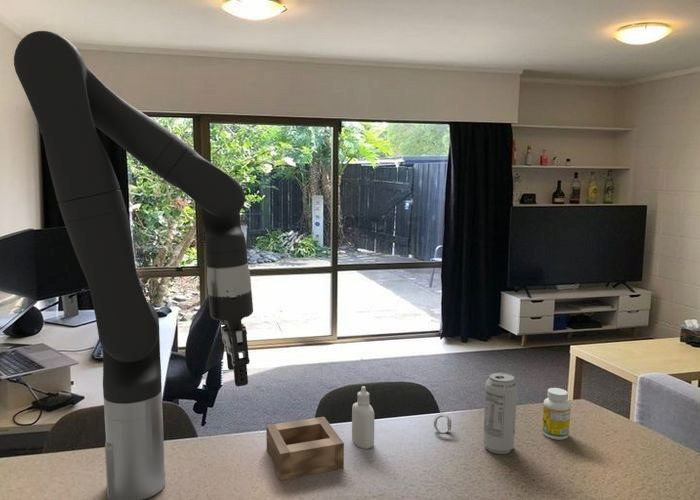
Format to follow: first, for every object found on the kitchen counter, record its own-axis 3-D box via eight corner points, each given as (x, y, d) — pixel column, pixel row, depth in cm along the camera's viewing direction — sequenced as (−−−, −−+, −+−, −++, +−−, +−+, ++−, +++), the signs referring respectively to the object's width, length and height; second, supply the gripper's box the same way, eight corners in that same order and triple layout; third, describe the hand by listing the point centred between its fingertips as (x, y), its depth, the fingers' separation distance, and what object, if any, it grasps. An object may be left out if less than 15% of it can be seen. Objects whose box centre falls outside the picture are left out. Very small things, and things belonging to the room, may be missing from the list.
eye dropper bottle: (372, 436, 116) (373, 381, 115) (374, 449, 111) (375, 392, 109) (351, 436, 116) (352, 381, 115) (352, 449, 111) (353, 392, 109)
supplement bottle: (568, 442, 115) (571, 397, 113) (541, 437, 116) (544, 394, 115) (568, 431, 120) (571, 388, 118) (542, 427, 121) (544, 385, 120)
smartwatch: (433, 433, 118) (434, 415, 117) (432, 429, 120) (433, 411, 119) (450, 434, 118) (451, 416, 117) (449, 430, 120) (450, 412, 119)
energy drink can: (520, 452, 110) (524, 379, 108) (494, 457, 108) (498, 383, 106) (501, 438, 116) (504, 369, 114) (476, 443, 114) (479, 373, 112)
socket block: (280, 480, 99) (280, 453, 99) (266, 449, 111) (266, 425, 110) (343, 468, 104) (343, 443, 103) (324, 439, 115) (324, 416, 114)
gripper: (203, 284, 104) (211, 367, 106) (213, 301, 90) (222, 395, 93) (244, 279, 106) (251, 360, 109) (258, 295, 93) (266, 387, 95)
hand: (237, 376), depth 101 cm, fingers open, 8 cm apart
